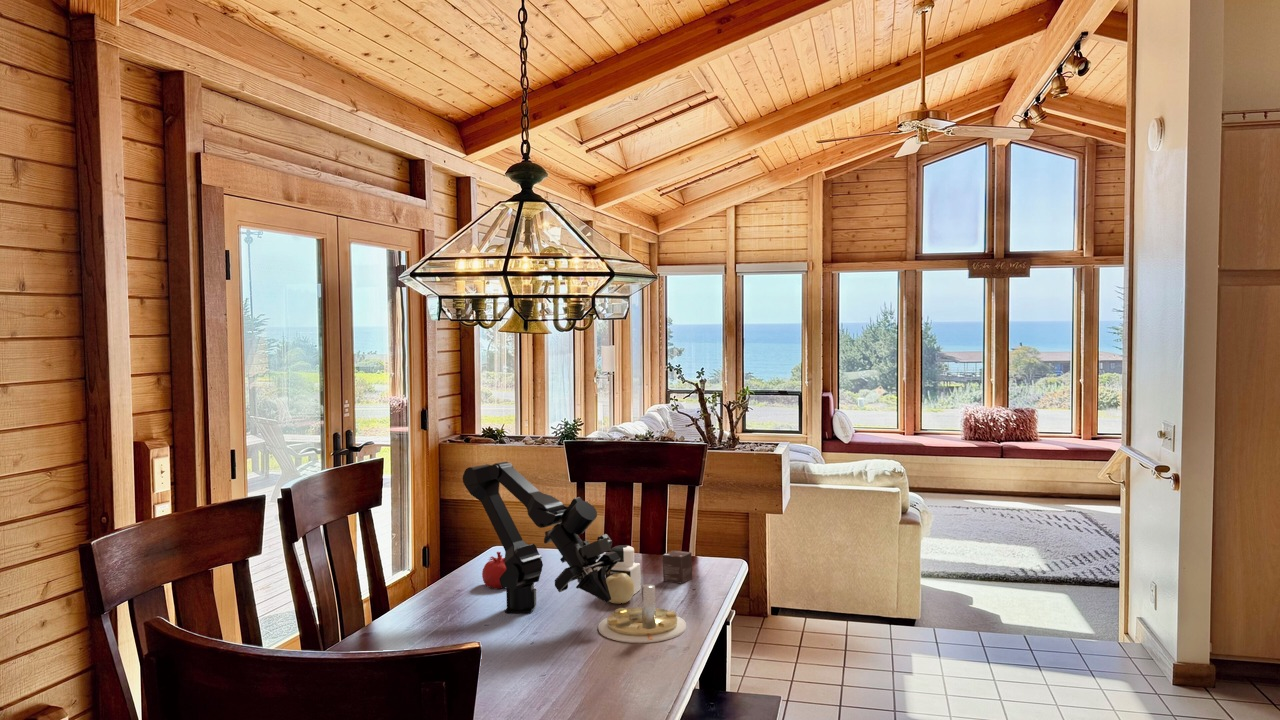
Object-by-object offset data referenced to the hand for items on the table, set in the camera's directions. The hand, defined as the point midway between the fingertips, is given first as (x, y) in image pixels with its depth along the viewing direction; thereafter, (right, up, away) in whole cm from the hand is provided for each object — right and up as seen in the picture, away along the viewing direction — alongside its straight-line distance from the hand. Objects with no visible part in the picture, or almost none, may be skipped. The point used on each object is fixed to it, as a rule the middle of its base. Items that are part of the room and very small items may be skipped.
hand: (609, 601), depth 192 cm
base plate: (+8, -6, +1) cm, 10 cm away
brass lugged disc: (+8, -6, +1) cm, 10 cm away
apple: (+2, -6, +22) cm, 23 cm away
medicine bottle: (+3, -6, +29) cm, 30 cm away
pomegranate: (-31, -7, +38) cm, 50 cm away
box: (+17, -6, +40) cm, 44 cm away
